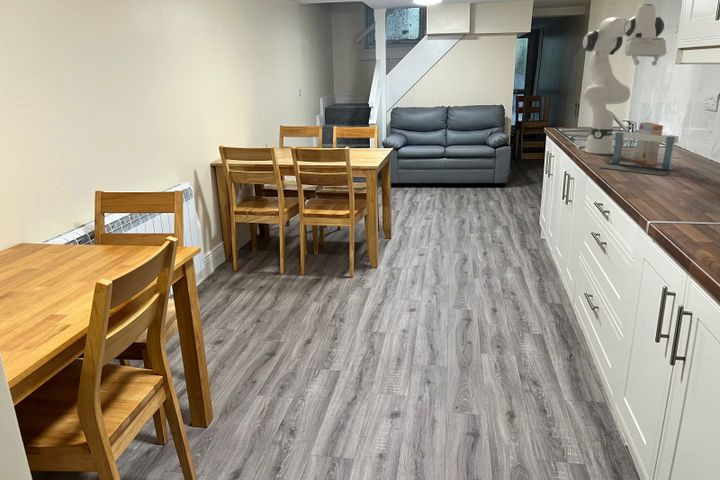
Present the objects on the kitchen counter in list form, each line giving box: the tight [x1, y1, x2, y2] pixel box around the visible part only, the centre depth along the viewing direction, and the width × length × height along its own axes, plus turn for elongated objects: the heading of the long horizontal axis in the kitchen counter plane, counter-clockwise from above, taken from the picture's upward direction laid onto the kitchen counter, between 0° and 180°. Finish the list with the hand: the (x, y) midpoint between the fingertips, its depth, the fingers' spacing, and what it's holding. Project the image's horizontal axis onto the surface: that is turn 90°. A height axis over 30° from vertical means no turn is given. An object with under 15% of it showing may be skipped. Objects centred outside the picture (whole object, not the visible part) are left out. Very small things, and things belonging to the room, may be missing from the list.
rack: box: [606, 130, 676, 173], centre depth 280 cm, size 8×30×17 cm, turn 50°
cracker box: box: [633, 122, 664, 165], centre depth 290 cm, size 14×6×21 cm, turn 179°
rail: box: [612, 130, 680, 144], centre depth 278 cm, size 3×30×3 cm, turn 50°
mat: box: [599, 163, 670, 177], centre depth 274 cm, size 10×30×1 cm, turn 50°
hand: (645, 64), depth 273 cm, fingers open, 8 cm apart
